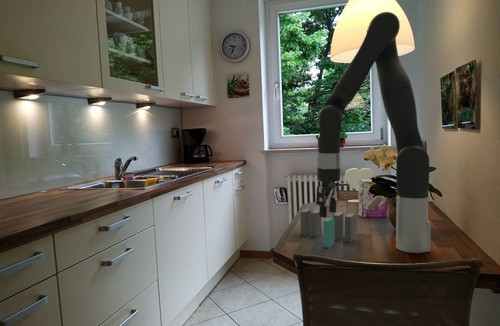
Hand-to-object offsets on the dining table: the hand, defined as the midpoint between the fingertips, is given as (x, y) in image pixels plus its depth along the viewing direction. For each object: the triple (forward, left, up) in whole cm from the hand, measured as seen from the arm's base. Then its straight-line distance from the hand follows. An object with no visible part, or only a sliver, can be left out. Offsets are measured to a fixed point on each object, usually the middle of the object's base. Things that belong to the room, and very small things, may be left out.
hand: (328, 214), depth 121 cm
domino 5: (-8, -5, -11) cm, 14 cm away
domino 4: (-5, -7, -11) cm, 14 cm away
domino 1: (+6, -14, -11) cm, 18 cm away
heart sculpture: (-29, -77, -11) cm, 83 cm away
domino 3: (0, 0, -11) cm, 11 cm away
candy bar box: (-26, -41, -11) cm, 49 cm away
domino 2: (+2, -12, -11) cm, 16 cm away
